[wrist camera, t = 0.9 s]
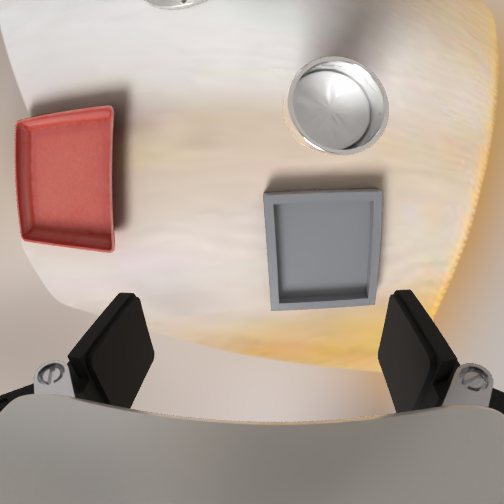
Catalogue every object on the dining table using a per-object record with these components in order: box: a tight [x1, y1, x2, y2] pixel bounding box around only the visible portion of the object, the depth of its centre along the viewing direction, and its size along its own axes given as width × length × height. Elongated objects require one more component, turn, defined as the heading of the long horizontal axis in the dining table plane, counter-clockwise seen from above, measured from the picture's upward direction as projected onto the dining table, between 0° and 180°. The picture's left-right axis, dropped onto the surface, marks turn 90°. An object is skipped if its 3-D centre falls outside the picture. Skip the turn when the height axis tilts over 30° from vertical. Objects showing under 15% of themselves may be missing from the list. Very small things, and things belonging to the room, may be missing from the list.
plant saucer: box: [15, 105, 115, 253], centre depth 34 cm, size 18×18×3 cm
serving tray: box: [263, 188, 382, 311], centre depth 35 cm, size 14×13×2 cm
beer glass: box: [283, 56, 389, 155], centre depth 23 cm, size 7×7×15 cm
